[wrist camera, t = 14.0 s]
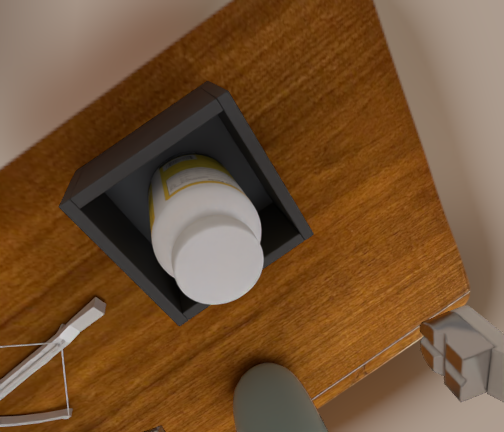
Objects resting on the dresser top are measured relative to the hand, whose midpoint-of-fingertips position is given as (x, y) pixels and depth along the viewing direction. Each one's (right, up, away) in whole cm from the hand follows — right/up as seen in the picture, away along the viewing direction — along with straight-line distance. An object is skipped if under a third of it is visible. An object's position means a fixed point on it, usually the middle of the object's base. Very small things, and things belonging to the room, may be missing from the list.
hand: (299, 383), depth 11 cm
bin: (-6, +7, +19) cm, 21 cm away
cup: (0, -13, +30) cm, 32 cm away
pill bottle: (-6, +7, +18) cm, 21 cm away
